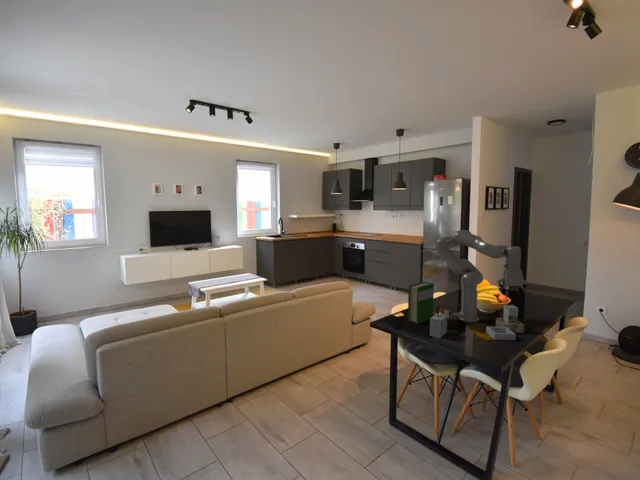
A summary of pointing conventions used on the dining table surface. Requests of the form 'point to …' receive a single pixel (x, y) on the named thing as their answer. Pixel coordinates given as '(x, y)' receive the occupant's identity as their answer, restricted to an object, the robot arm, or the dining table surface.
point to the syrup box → (510, 314)
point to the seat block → (501, 333)
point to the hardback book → (420, 302)
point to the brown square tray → (511, 325)
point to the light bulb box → (438, 325)
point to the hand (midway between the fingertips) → (512, 294)
